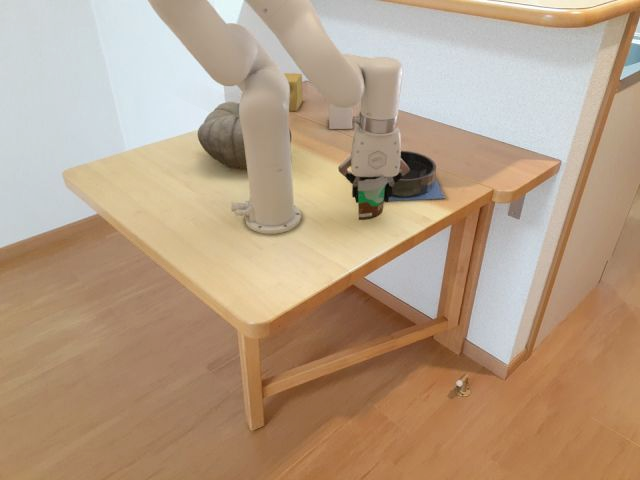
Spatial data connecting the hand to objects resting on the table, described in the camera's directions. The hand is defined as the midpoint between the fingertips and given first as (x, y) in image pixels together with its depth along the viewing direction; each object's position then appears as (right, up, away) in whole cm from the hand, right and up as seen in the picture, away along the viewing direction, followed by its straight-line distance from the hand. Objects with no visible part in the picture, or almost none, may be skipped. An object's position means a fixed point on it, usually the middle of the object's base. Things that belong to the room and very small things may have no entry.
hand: (371, 198), depth 114 cm
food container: (+1, -3, +2) cm, 3 cm away
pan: (+9, +5, +16) cm, 19 cm away
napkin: (+9, +5, +16) cm, 19 cm away
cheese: (-23, +37, +63) cm, 76 cm away
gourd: (-32, +13, +29) cm, 45 cm away
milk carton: (-5, +27, +48) cm, 55 cm away
